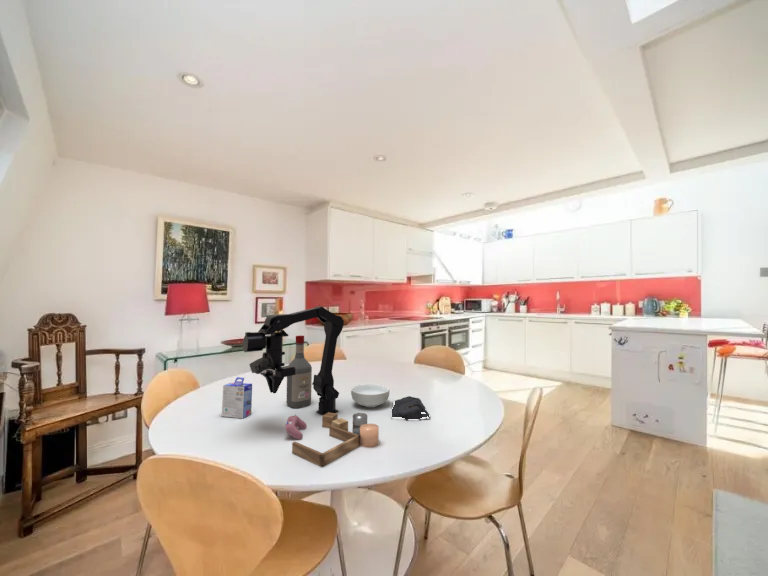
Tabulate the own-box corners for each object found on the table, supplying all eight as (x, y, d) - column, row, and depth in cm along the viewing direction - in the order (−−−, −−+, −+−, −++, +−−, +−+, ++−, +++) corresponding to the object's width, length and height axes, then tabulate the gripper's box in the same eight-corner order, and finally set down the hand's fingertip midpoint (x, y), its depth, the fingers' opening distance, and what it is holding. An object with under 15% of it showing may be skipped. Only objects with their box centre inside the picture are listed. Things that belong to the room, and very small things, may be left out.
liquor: (313, 405, 134) (314, 336, 136) (293, 409, 128) (294, 337, 130) (303, 400, 141) (304, 334, 143) (284, 404, 135) (285, 335, 137)
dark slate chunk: (424, 403, 139) (424, 392, 139) (431, 422, 117) (431, 409, 117) (390, 403, 139) (390, 392, 139) (390, 421, 117) (390, 409, 117)
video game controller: (296, 432, 109) (287, 415, 109) (308, 426, 110) (299, 408, 110) (290, 445, 100) (280, 426, 100) (303, 438, 100) (293, 419, 100)
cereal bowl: (359, 413, 124) (360, 396, 124) (345, 402, 139) (345, 386, 139) (396, 407, 132) (396, 390, 132) (379, 396, 147) (379, 381, 147)
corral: (331, 434, 104) (331, 425, 104) (360, 445, 96) (360, 435, 97) (292, 452, 91) (292, 442, 92) (321, 466, 84) (322, 455, 84)
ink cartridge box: (252, 413, 124) (253, 377, 124) (243, 419, 118) (244, 380, 119) (230, 412, 125) (231, 376, 126) (221, 417, 120) (222, 379, 121)
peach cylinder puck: (368, 437, 102) (368, 422, 103) (382, 442, 99) (382, 426, 99) (355, 443, 98) (356, 427, 98) (370, 449, 94) (370, 432, 94)
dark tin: (357, 429, 109) (358, 411, 109) (369, 432, 106) (370, 414, 106) (349, 434, 104) (350, 416, 105) (361, 437, 102) (362, 419, 102)
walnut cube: (328, 423, 114) (328, 412, 115) (337, 424, 113) (337, 413, 113) (322, 427, 111) (322, 415, 111) (331, 428, 109) (331, 417, 109)
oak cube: (341, 429, 109) (341, 417, 109) (348, 432, 106) (348, 421, 106) (331, 432, 106) (331, 420, 106) (338, 436, 103) (338, 424, 103)
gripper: (239, 349, 111) (238, 393, 111) (269, 355, 100) (268, 403, 99) (267, 346, 120) (266, 386, 120) (297, 350, 109) (296, 395, 108)
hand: (273, 392), depth 111 cm, fingers closed
